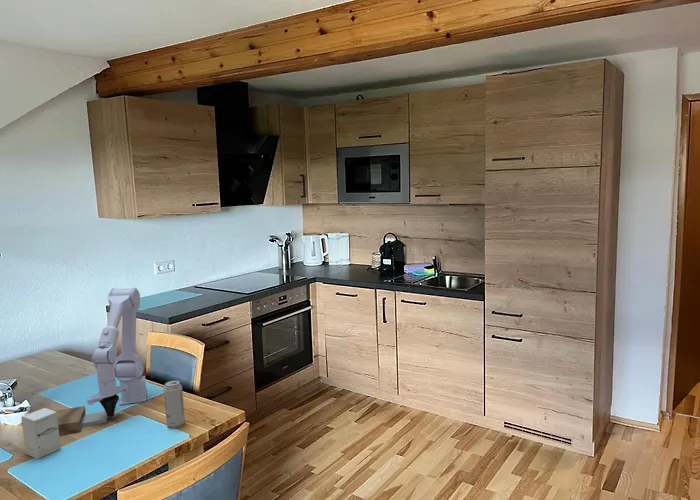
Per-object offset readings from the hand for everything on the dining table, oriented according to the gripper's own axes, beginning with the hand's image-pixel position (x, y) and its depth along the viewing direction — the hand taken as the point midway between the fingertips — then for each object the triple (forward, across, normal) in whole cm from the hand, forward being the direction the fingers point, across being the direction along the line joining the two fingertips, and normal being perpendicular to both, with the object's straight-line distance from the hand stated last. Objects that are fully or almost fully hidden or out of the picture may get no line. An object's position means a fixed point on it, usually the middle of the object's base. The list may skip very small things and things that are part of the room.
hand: (110, 416), depth 184 cm
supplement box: (+1, +25, +2) cm, 25 cm away
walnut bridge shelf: (+1, +10, -8) cm, 13 cm away
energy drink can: (+1, -8, +25) cm, 27 cm away
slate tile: (+1, +5, -5) cm, 7 cm away
